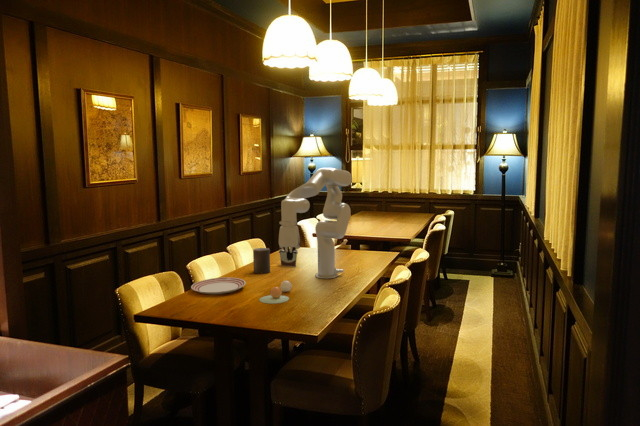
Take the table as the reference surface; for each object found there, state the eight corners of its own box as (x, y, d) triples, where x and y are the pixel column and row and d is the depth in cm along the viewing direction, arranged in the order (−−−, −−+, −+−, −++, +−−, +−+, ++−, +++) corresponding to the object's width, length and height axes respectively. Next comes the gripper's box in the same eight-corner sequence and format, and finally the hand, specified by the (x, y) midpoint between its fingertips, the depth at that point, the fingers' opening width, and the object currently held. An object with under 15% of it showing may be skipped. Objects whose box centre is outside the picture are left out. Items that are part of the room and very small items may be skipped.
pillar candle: (267, 274, 290) (266, 248, 289) (251, 273, 292) (250, 248, 291) (272, 270, 300) (271, 245, 298) (256, 270, 302) (256, 245, 300)
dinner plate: (220, 300, 240) (219, 293, 239) (179, 292, 254) (179, 286, 254) (256, 287, 263) (256, 281, 262) (217, 281, 277) (217, 275, 277)
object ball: (276, 283, 239) (273, 294, 236) (285, 288, 241) (282, 299, 239) (269, 285, 243) (266, 296, 240) (278, 290, 245) (275, 301, 242)
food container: (301, 264, 315) (300, 248, 314) (297, 266, 309) (297, 250, 308) (283, 263, 319) (282, 248, 318) (279, 265, 313) (278, 249, 312)
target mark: (286, 294, 247) (286, 294, 247) (291, 302, 233) (291, 301, 233) (257, 296, 244) (257, 296, 244) (260, 304, 230) (260, 304, 230)
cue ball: (285, 280, 249) (284, 291, 248) (294, 281, 252) (293, 292, 251) (278, 280, 253) (277, 291, 252) (287, 280, 256) (286, 291, 255)
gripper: (272, 224, 253) (273, 260, 255) (300, 225, 248) (300, 262, 250) (278, 222, 260) (279, 257, 262) (305, 223, 255) (306, 259, 257)
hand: (289, 259), depth 256 cm, fingers closed
